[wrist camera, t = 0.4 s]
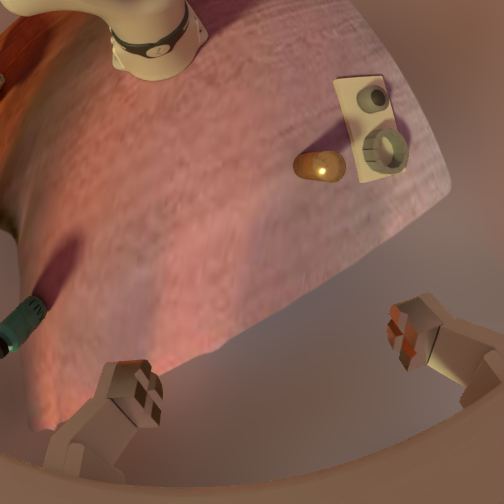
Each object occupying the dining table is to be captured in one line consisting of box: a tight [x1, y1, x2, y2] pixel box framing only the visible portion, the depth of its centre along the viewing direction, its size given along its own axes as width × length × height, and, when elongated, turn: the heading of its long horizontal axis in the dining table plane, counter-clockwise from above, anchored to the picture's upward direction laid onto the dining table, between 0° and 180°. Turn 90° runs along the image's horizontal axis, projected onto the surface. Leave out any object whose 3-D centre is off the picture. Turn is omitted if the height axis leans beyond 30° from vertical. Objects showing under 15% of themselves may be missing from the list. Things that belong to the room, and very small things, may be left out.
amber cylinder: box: [293, 150, 346, 182], centre depth 47 cm, size 5×5×12 cm
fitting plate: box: [333, 76, 409, 183], centre depth 50 cm, size 22×12×6 cm, turn 16°
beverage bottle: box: [0, 296, 46, 359], centre depth 42 cm, size 6×7×20 cm
